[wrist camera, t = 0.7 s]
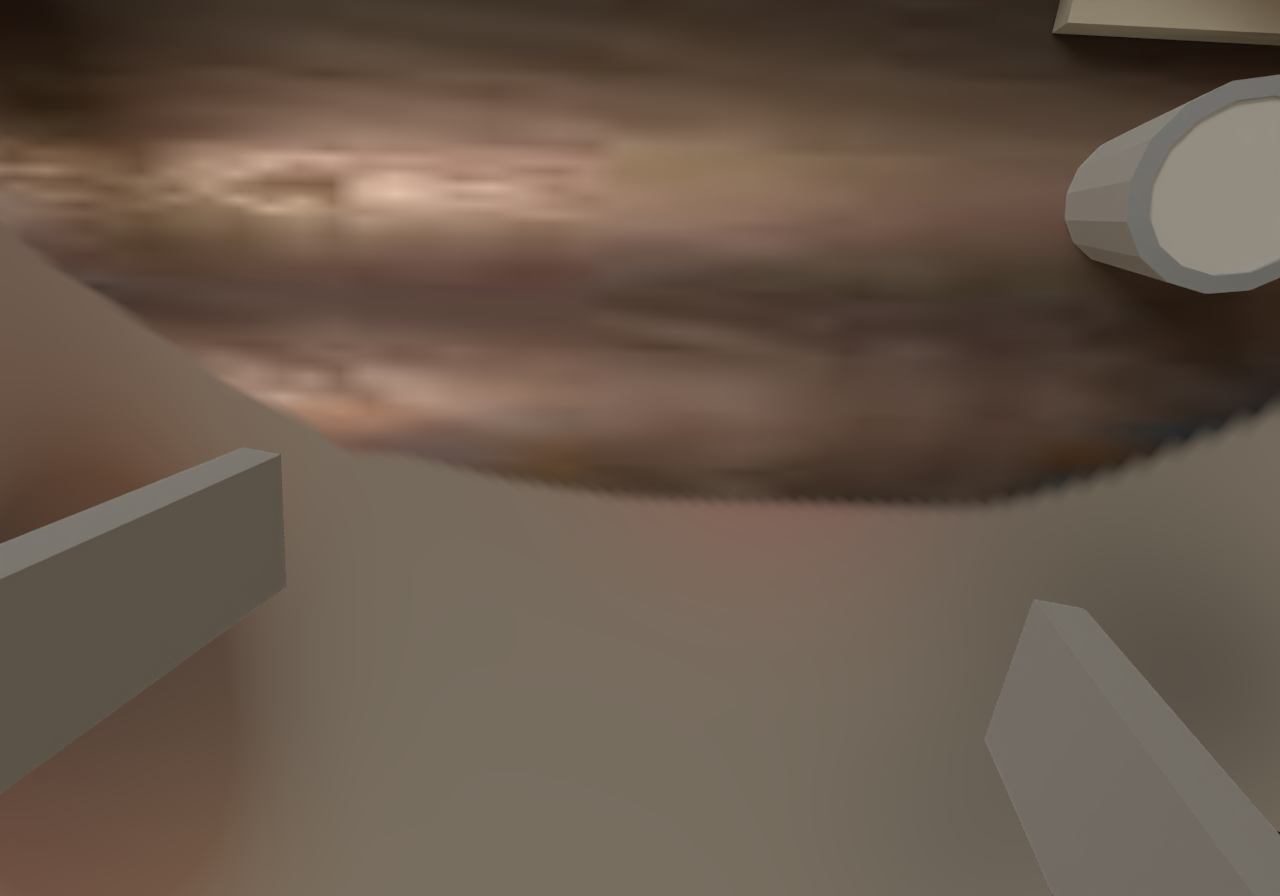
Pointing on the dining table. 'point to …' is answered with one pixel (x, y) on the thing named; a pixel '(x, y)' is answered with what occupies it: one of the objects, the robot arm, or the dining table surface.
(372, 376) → the dining table surface
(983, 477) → the dining table surface
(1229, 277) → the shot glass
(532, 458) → the dining table surface
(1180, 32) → the pin board
